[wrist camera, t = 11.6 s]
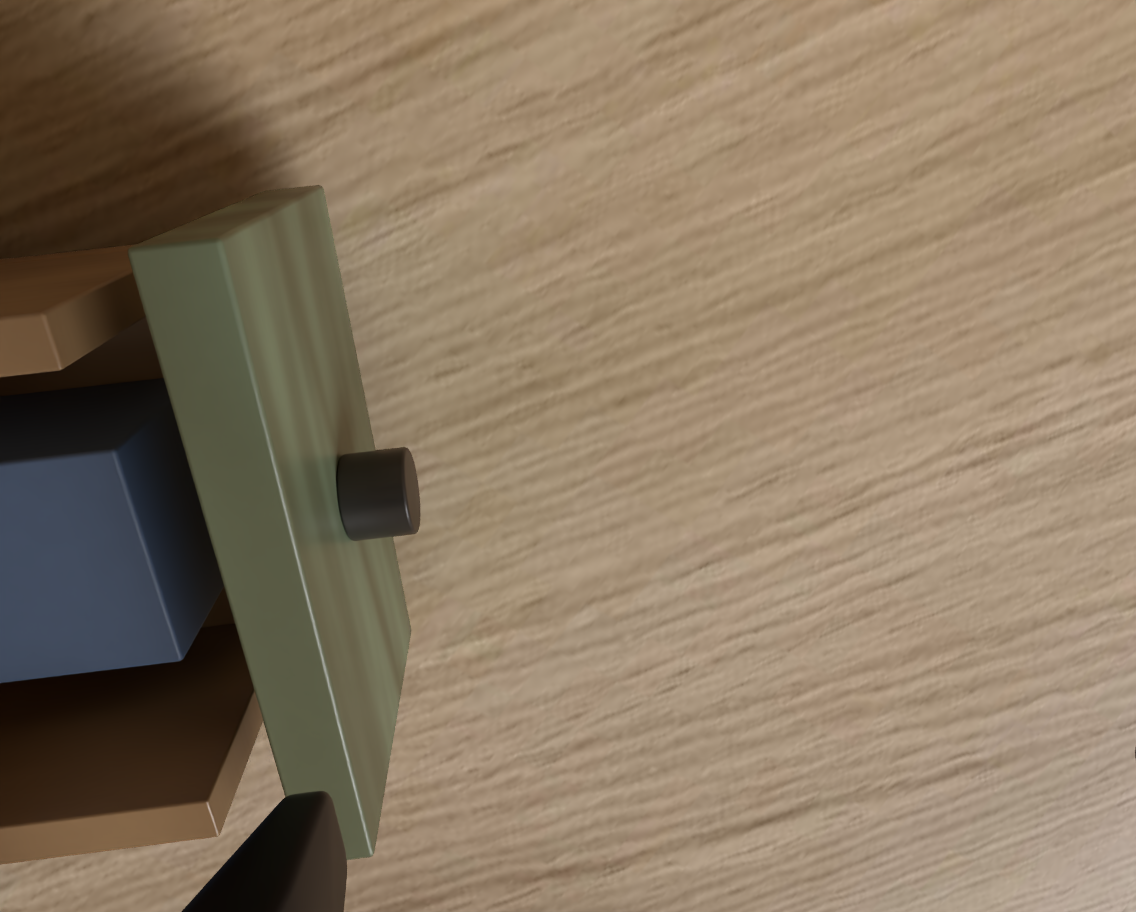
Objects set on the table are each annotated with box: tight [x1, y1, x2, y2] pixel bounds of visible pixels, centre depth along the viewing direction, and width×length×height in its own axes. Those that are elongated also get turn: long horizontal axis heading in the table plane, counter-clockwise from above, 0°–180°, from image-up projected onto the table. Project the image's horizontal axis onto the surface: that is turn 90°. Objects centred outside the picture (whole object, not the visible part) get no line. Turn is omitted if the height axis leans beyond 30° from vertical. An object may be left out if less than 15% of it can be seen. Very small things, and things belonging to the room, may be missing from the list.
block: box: [0, 378, 224, 683], centre depth 16 cm, size 4×4×4 cm
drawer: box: [0, 185, 420, 864], centre depth 16 cm, size 15×10×7 cm
